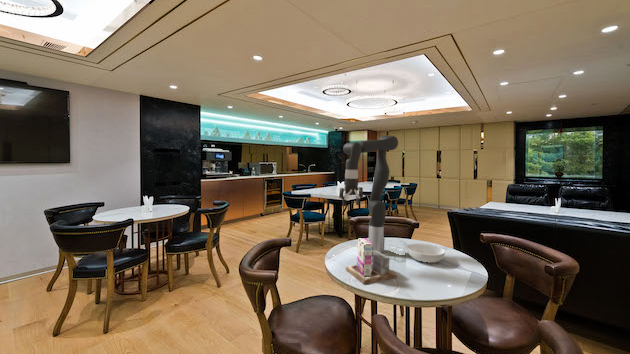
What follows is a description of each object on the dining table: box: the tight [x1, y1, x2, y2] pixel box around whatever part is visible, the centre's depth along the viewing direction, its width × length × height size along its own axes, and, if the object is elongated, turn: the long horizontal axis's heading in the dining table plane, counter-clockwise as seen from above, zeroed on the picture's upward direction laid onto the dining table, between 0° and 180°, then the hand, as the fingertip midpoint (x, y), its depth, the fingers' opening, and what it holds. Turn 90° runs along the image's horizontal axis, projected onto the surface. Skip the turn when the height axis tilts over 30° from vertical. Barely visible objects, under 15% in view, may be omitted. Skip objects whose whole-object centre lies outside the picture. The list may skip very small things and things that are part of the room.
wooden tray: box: [345, 251, 398, 285], centre depth 137 cm, size 20×17×10 cm
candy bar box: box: [356, 237, 373, 277], centre depth 135 cm, size 11×5×16 cm, turn 6°
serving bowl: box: [406, 243, 446, 264], centre depth 157 cm, size 21×21×7 cm
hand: (350, 205), depth 151 cm, fingers open, 8 cm apart
